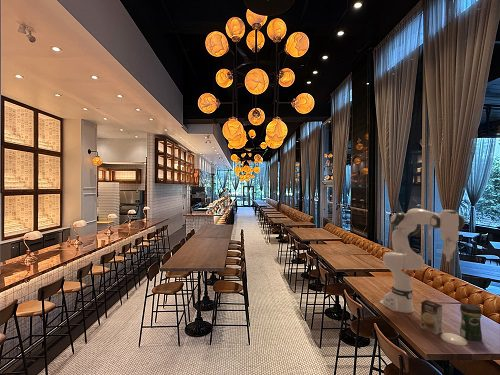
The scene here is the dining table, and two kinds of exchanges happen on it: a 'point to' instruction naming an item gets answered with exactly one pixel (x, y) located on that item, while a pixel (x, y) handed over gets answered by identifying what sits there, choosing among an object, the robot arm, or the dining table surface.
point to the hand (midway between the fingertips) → (449, 259)
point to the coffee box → (431, 316)
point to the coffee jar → (470, 322)
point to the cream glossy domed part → (454, 339)
